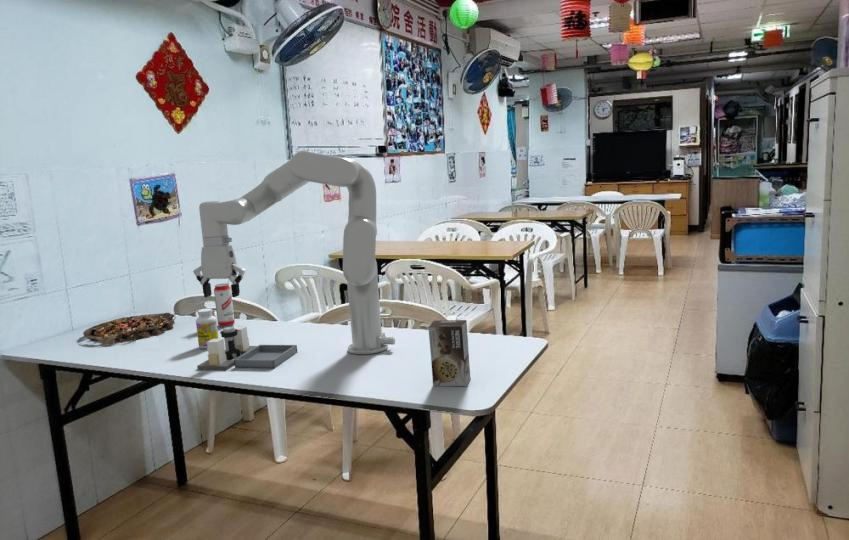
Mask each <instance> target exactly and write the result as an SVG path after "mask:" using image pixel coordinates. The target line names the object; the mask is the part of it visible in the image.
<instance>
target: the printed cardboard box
mask: <svg viewBox="0 0 849 540" xmlns="http://www.w3.org/2000/svg"><path fill="white" fill-rule="evenodd" d="M427 329H428V330H427V331H428V339H429V350H430V351H429V352H430V360H431V361H430V362H431V376H432V386H433V387H467V386H468V385H469V382H470V381H471V367H470V356H469V355H470V353H469V351H470V350H469V338H468V325H467V319H452V320H451V319H449V320H446V319H445V320H443V319H442V320H439V319H438V320H433V321H432V322H431V324H430V325H429V326H428V327H427Z"/></svg>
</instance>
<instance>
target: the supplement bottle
mask: <svg viewBox="0 0 849 540" xmlns="http://www.w3.org/2000/svg"><path fill="white" fill-rule="evenodd" d="M197 315H198V317H197V318H196V320H195V325H196V334H197V341H198V347H199V349H203V350H208V346H207V342H208V341H210V340H212V339H220V337H219V331H218V330H219V329H218V321H217V316H215V315H213V309H212V308H210V307H209V308H208V307H207V308H201V309H199V310H197Z"/></svg>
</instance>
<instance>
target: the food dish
mask: <svg viewBox="0 0 849 540" xmlns="http://www.w3.org/2000/svg"><path fill="white" fill-rule="evenodd" d="M176 319H177V317H176V315H175V314H172V313H171V312H161V313H150V314H146V313H145V314H141V315H132V316H131V315H130V316H123V317H120V318H116V319H111V320H109V321H104V322H102V323H99V324H96V325H93V326H91V327H89V328H87V329H85V330H84V331H83V332H82V333H83V336H84V338H89V339H90V342H100V344H102V345H105V346H107V345H113V344H121V343H126V342H135V341H140V340H145V339H149V338H152V337H156V336H160V335H162V334H164V333H165V332H168V331H172V330H173V329H174V324H175V323H176V322H175V320H176Z"/></svg>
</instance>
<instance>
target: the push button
mask: <svg viewBox="0 0 849 540" xmlns="http://www.w3.org/2000/svg"><path fill="white" fill-rule="evenodd" d="M237 332H238V330H237V329H235V326H228V327H222V330H221V331H220V332H219V333H220V335H221V337H220V338H222V339H224V347H225V351H226V352H225V354H226V358H227V360H233V359H235V358H237V357H239V356H240V349H236V348H237V347H236V339H235V336H236V335H237Z"/></svg>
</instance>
